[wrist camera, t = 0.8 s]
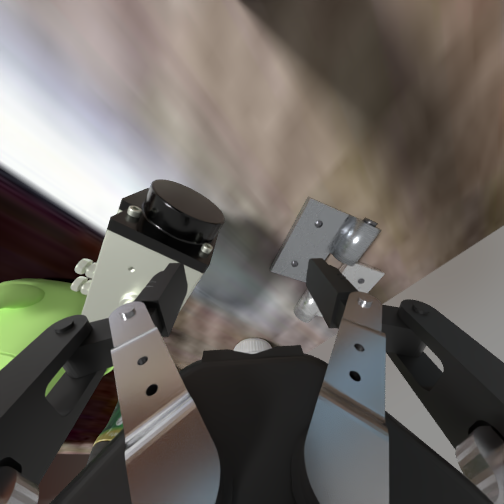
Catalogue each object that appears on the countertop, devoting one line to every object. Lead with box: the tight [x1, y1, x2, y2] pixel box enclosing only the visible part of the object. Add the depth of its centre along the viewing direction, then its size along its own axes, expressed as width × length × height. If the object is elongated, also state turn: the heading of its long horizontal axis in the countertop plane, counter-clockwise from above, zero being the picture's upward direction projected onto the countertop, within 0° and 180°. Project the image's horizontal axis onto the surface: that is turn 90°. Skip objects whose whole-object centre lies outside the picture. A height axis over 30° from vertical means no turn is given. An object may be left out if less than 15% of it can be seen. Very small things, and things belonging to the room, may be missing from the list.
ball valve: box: [70, 180, 225, 338], centre depth 22 cm, size 18×8×18 cm, turn 147°
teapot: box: [0, 278, 114, 397], centre depth 29 cm, size 25×22×16 cm
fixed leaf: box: [270, 197, 382, 282], centre depth 30 cm, size 15×12×4 cm
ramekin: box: [234, 338, 272, 354], centre depth 44 cm, size 11×11×5 cm
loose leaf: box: [294, 262, 384, 323], centre depth 35 cm, size 14×12×4 cm
